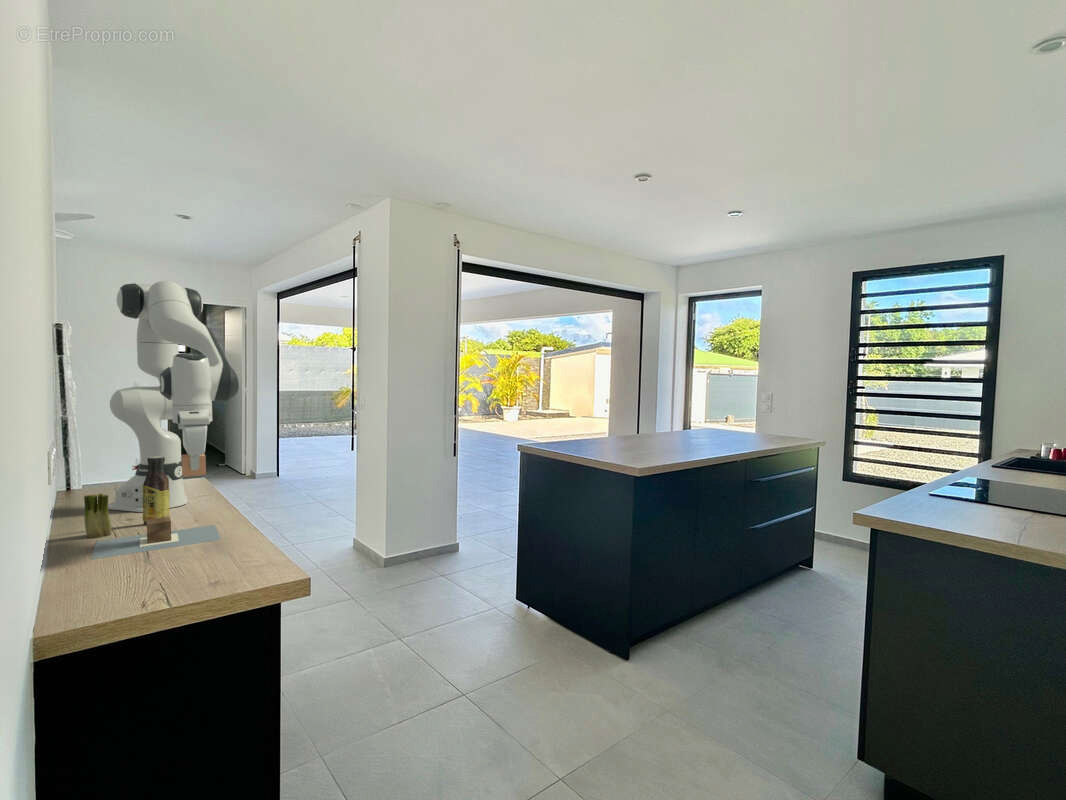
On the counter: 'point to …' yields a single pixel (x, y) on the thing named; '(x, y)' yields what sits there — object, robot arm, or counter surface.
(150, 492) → the sauce bottle
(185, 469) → the terracotta block
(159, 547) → the build board
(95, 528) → the fennel bulb
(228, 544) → the counter surface
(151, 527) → the walnut block
